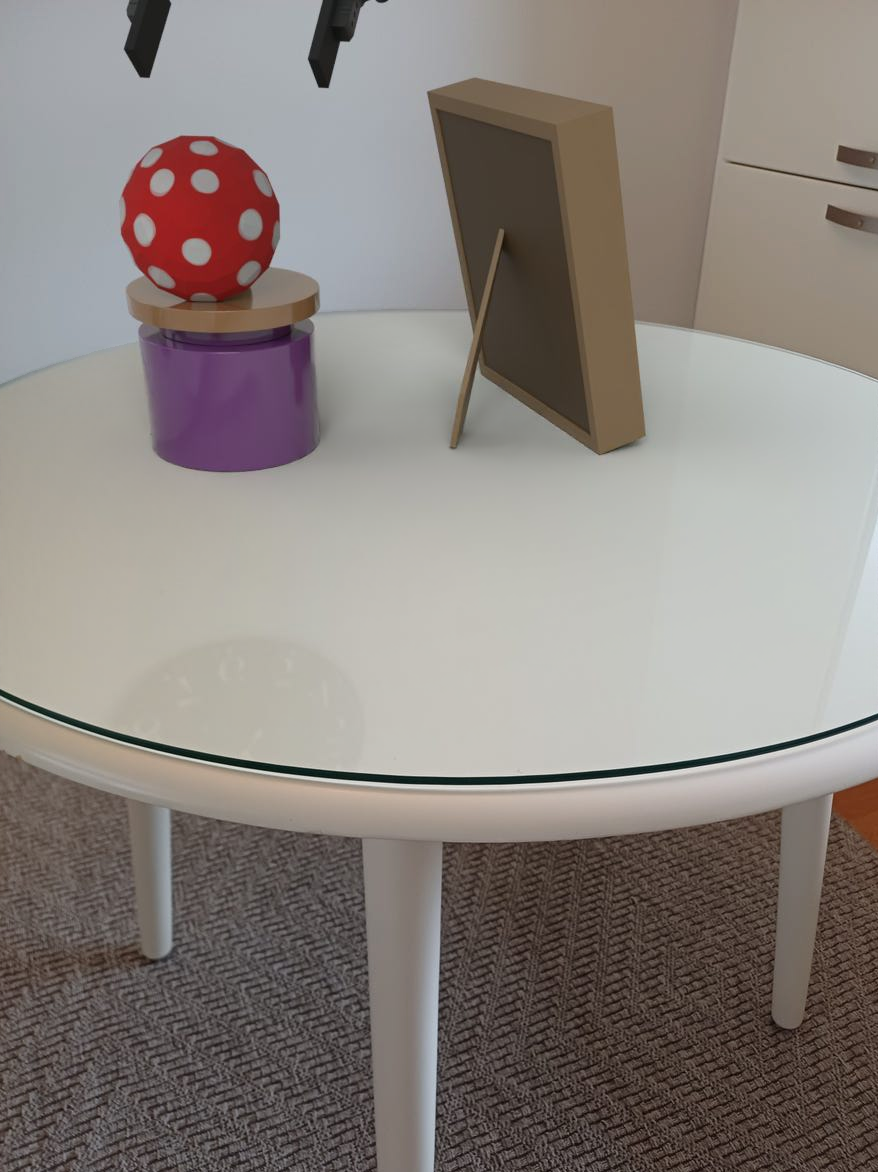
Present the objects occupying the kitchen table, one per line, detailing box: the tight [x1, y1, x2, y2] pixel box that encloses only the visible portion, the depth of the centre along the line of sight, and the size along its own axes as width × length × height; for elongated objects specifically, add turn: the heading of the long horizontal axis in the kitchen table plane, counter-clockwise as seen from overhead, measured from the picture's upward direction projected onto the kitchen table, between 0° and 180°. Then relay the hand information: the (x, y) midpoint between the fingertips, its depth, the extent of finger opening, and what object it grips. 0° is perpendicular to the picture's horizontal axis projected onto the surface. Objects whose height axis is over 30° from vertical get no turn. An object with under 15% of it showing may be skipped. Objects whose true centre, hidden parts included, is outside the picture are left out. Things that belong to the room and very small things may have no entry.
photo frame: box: [426, 77, 647, 456], centre depth 89 cm, size 15×22×25 cm
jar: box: [125, 266, 321, 472], centre depth 86 cm, size 14×14×12 cm
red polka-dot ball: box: [118, 134, 281, 302], centre depth 81 cm, size 11×11×15 cm
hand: (226, 69), depth 79 cm, fingers open, 13 cm apart
